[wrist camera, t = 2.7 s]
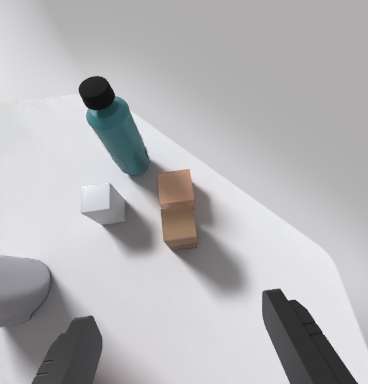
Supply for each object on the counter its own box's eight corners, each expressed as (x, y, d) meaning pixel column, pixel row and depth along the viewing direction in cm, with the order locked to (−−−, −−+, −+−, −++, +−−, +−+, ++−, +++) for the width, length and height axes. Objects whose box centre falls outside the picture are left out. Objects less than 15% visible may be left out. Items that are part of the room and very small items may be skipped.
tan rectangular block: (196, 247, 37) (196, 236, 28) (171, 250, 37) (163, 241, 28) (193, 222, 39) (192, 204, 29) (169, 226, 39) (160, 209, 29)
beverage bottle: (157, 169, 43) (128, 88, 25) (129, 185, 42) (77, 113, 24) (142, 148, 46) (106, 59, 27) (115, 162, 45) (59, 80, 26)
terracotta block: (194, 208, 40) (194, 199, 35) (163, 213, 40) (159, 204, 35) (190, 181, 42) (189, 168, 38) (161, 185, 42) (156, 173, 38)
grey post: (125, 221, 39) (109, 208, 32) (102, 225, 39) (80, 212, 32) (125, 200, 41) (109, 182, 34) (102, 203, 41) (82, 186, 34)
